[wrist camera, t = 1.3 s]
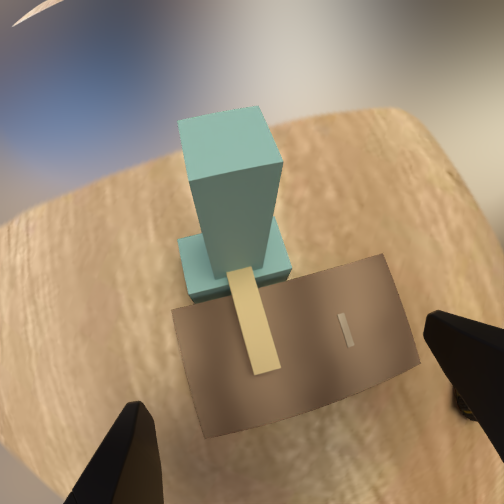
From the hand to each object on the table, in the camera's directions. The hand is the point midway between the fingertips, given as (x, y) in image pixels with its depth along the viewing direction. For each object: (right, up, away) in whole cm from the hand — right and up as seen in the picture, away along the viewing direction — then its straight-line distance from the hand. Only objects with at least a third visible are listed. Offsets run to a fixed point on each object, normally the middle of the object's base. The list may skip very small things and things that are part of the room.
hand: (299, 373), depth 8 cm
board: (+2, -3, +13) cm, 14 cm away
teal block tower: (-2, -1, +14) cm, 14 cm away
